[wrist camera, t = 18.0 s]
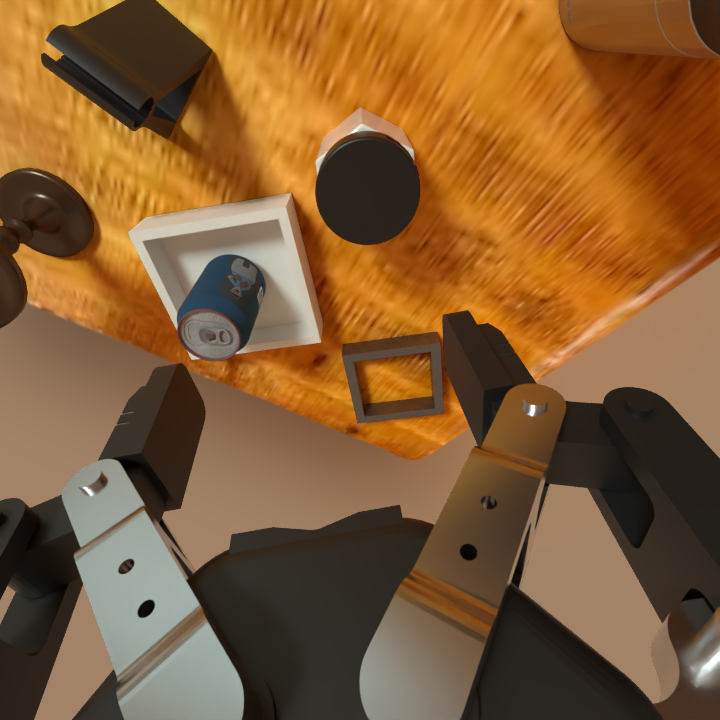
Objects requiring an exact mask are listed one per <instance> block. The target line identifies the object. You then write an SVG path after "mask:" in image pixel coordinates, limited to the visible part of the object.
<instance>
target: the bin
mask: <svg viewBox="0 0 720 720" xmlns="http://www.w3.org/2000/svg"><path fill="white" fill-rule="evenodd" d="M128 234H129V236H130V238H131V240H132V242H133V244H134V246H135V248H136V250H137V252H138V254H139V256H140V258H141V260H142V262H143V264H144V266H145V268H146V270H147V272H148V274H149V276H150V278H151V280H152V282H153V284H154V286H155V288H156V290H157V292H158V294H159V296H160V298H161V300H162V302H163V304H164V306H165V308H166V310H167V312H168V314H169V316H170V318H171V320H172V322H173V324H174V326H175V328H176V330H177V327H178V326H177V313H178V310H179V308H180V306H181V305H182V303H183V302H184V300H185V299H186V297H187V295H188V294H189V292H190V291H191V289H192V288H193V286H194V284H195V283H196V281H197V280H198V278H199V277H200V275H201V273H202V272H203V270H204V269H205V267H206V266H207V264H208V263H209V262H210V261H211V260H212V259H214V258H216V257H218V256H221V255H226V254H233V255H239V256H242V257H245V258H247V259H248V260H250V261H252V262H253V263H254V264H255V265H256V266H257V267H258V268H259V269H260V271H261V272H262V274H263V276H264V279H265V283H266V292H265V295H264V298H263V301H262V304H261V307H260V310H259V312H258V315H257V318H256V321H255V324H254V327H253V330H252V332H251V335H250V338H249V341H248V343H247V344H246V345H245V346H244V348H242V349H241V350H240V351H238V352H236V354H240V353H247V352H255V351H262V350H270V349H277V348H284V347H292V346H299V345H307V344H314V343H321V338H322V329H323V319H322V315H321V311H320V307H319V303H318V299H317V295H316V291H315V287H314V283H313V279H312V274H311V270H310V266H309V262H308V258H307V254H306V250H305V246H304V242H303V238H302V234H301V230H300V226H299V222H298V218H297V214H296V210H295V206H294V202H293V197H292V193H288V194H282V195H276V196H270V197H264V198H258V199H252V200H246V201H240V202H234V203H228V204H222V205H216V206H210V207H204V208H198V209H192V210H186V211H180V212H174V213H168V214H162V215H156V216H150V217H145V218H144V219H143V220H142V221H141V222H140V223H138V224H137V225H136V226H135V227H134V228H133V229H132V230H130V231H129V232H128ZM187 352H188V351H187ZM188 354H189V356H190V357H191V359H192V360H195V359H200V358H198V357H196V356H194V355H192V354H191V353H190V352H188Z"/></svg>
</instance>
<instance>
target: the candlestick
mask: <svg viewBox="0 0 720 720" xmlns="http://www.w3.org/2000/svg"><path fill="white" fill-rule="evenodd" d="M0 218H1V220H2V221H3V226H0V328H2V327H3V326H5V325H7V324H9V323H10V322H11V321H13V320H14V319H15V318H16V317H17V316H18V315H19V314H20V313H21V312H22V311H23V309H24V307H25V305H26V302H27V294H28V291H27V285H26V281H25V278H24V276H23V273H22V270H21V269H20V267H19V265H18V264H17V262H16V260H15V259H14V257H13V256H12V255H13V254H14V253H16V252H17V251H18V249H19V246H20V243H22V244H25V245H27V246H28V247H30V248H32V249H34V250H36V251H38V252H40V253H43V254H46V255H50V256H55V257H68V256H72V255H75V254H77V253H79V252H80V251H82V250H83V249H84V248H85V247H86V246H87V245H88V244H89V243H90V241H91V239H92V237H93V232H94V224H93V219H92V215H91V213H90V211H89V208H88V206H87V205H86V203H85V202H84V200H83V199H82V197H81V196H80V195H79V194H78V193H77V192H76V190H75V189H74V188H72V187H71V186H70V185H69V184H68V183H67V182H65V181H64V180H62V179H60V178H59V177H57V176H55V175H53V174H51V173H49V172H46V171H43V170H40V169H34V168H22V169H18V170H15V171H12V172H9V173H7V174H6V175H4V176H3V177H1V178H0Z"/></svg>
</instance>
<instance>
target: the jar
mask: <svg viewBox="0 0 720 720" xmlns="http://www.w3.org/2000/svg"><path fill="white" fill-rule="evenodd" d="M316 169H317V180H316V188H315V195H316V202H317V206H318V210H319V212H320V215H321V217H322V218H323V220H324V222H325V223H326V225H327V226H328V227H329V228H330V229H331V230H332V231H333V232H334V233H335V234H336V235H338V236H339V237H341V238H342V239H344V240H346V241H349V242H352V243H355V244H361V245H374V244H379V243H383V242H386V241H388V240H390V239H392V238H394V237H395V236H397V235H398V234H399V233H401V232H402V231H403V230H404V229H405V228H406V227H407V226H408V224H409V223H410V221H411V220H412V218H413V217H414V215H415V212H416V210H417V207H418V204H419V199H420V179H419V174H418V170H417V167H416V165H415V160H414V150H413V148H412V146H411V144H410V142H409V140H408V138H407V136H406V134H405V132H404V130H403V129H401V128H399V127H398V126H396V125H394V124H392V123H390V122H388V121H386V120H384V119H382V118H380V117H378V116H376V115H374V114H373V113H371V112H369V111H367V110H365V109H363V108H359V109H357V110H356V111H355V112H354V113H353V114H352V115H350V116H349V117H348V118H347V119H346V120H344V121H343V122H342V123H341V124H340V125H338V126H337V127H336V128H335V129H334V130H332V131H331V132H330V133H329V134H328V135H326V136H325V137H324V138H323V139H322V143H321V146H320V149H319V152H318V156H317V159H316Z"/></svg>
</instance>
